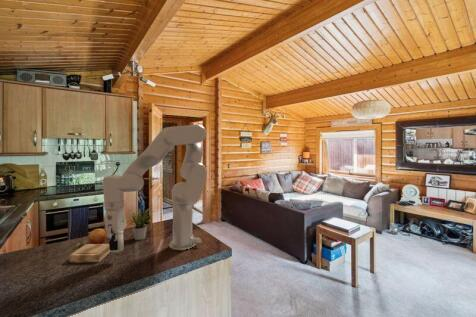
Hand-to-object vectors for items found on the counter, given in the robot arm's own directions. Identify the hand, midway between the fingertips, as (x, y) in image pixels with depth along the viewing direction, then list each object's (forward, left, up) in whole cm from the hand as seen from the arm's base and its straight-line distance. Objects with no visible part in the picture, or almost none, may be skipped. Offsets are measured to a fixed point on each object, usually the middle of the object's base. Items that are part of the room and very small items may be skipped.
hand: (117, 246), depth 105 cm
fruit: (+18, -20, -7) cm, 28 cm away
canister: (0, 0, -2) cm, 2 cm away
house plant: (-2, -27, -7) cm, 28 cm away
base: (+13, -5, -6) cm, 15 cm away
